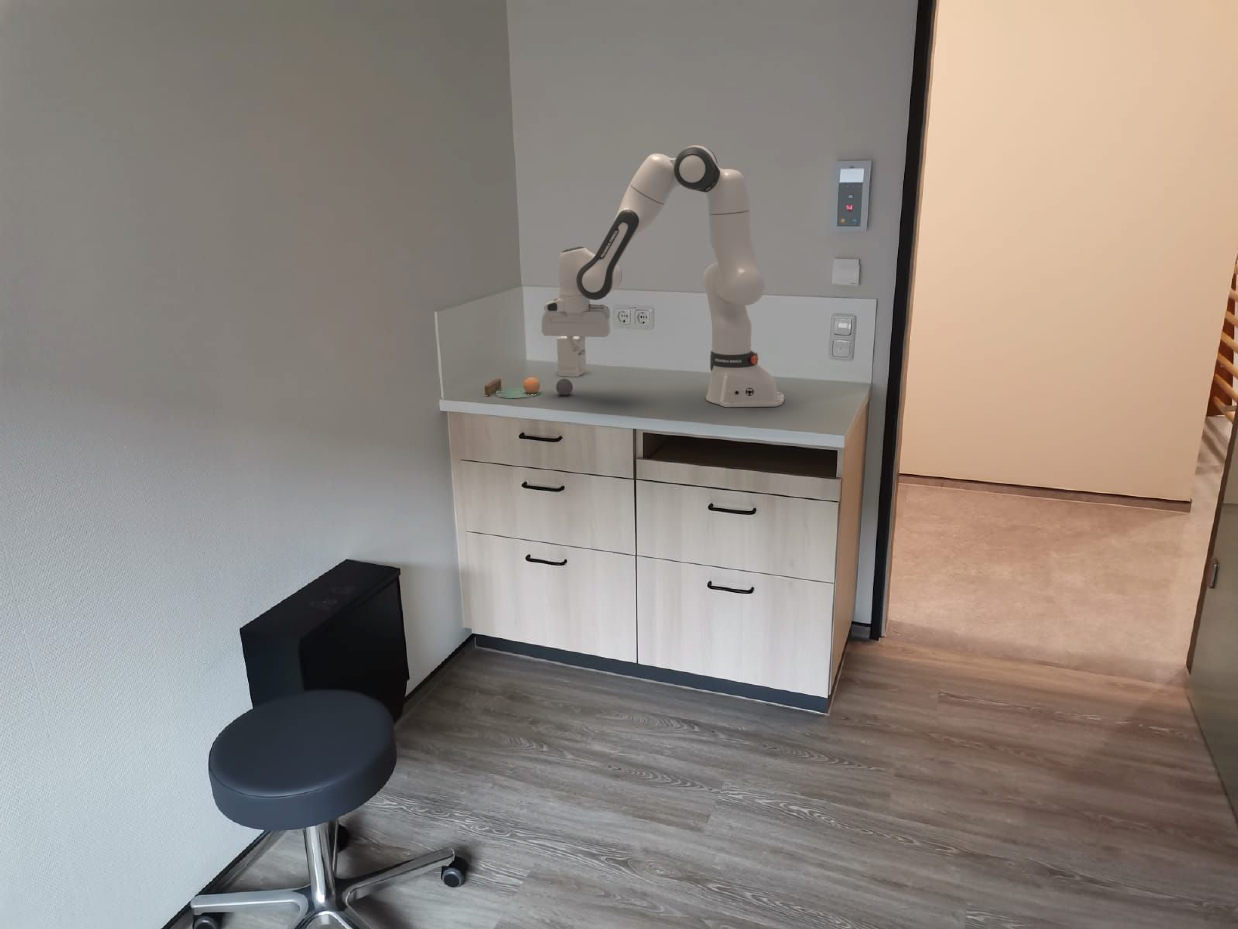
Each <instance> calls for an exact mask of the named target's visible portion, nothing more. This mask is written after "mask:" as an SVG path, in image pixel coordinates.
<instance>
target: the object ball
mask: <svg viewBox="0 0 1238 929" xmlns="http://www.w3.org/2000/svg"><path fill="white" fill-rule="evenodd" d="M522 387H524V390H525V391H526V392H527V393H529V394H534V393H536V392H538V390H541V389H540V388H541V384H540V381H539V379H537V378H536V377H533V376H532V377H531V376H530V377H528V378H527V379H525V380H524V382H523V386H522Z"/></svg>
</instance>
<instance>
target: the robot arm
mask: <svg viewBox="0 0 1238 929" xmlns="http://www.w3.org/2000/svg"><path fill="white" fill-rule="evenodd" d="M678 186H682V187H683V188H685V189H688V190H692V191H697V192H700V193H701V192H702V193H705V195H706V197H707V205H708V222H709V238H710V239H709V241H710V245H711V247H712V248H713V251H714V253H715V257H716V262H714V263H712V264H710V265H709V266H708V267H706V269H705V270H704V273H703V275H702V285H703V287H704V290H705V292H706V295H707V303H708V307H709V312H710V318H711V332H712V333H711V334H712V335H711V338H712V339H711V345H712V346H711V349H712V350H711V351H710V355H709V368H710V369H709V370H710V378H709V379H710V380H709V386H708V390H707V394H706V397H705V399H706V401H707V402H710V403H713V404H716V405H719V406H722V407H725V408H752V407H753V408H755V407H756V408H757V407H759V408H760V407H761V408H762V407H765V408H766V407H771V408H772V407H779V406H781V405H783V403H784V402H785V395H784V394H783V392H780V391H778V388H777V382H776V379H775V377H774V376H773V375H772V374H770V372H768V371H766V369H764V368H763V367H761V365H759V364H758V363H759V355H758V352H755V351H753V350H752V322H751V320H750V318H749V314H748V310H747V306H751V305H754V304H756V303H757V302H758V301H760V299H762V296H763V295H764V292H765V280H764V278H763V275H762V274H761V272H760V271H759V266H758V264H757V258H756V256H755V251H754V247H753V242H752V233H751V220H750V219H751V216H750V202H749V194H748V193H749V192H748V188H747V182H746V178H745V176H744V174H742V172H740V171H739V170H736V169H732V168H727V169H726V168H722V167H720V166H719V165H718V160H717V157H716V155H715V154H714V153H713V151H712V150H711V149H709V148H708V147H706V146H702V145H697V144H695V145H690V146H688V147H686V148H684V149H683V150H681V151H680V152H679V153H678V154H677V155H676V156H675V157H673V158H672V157H669V156H668V155H666V154H663V153H651V154H650V155H648V156H647V157H646V158H645V160H644V161H643V162H642V163H641V165H640V167H639V168H638V169H637V171H636V172H635V173H634V176H633V177H632V180H631V181H630V183H629V185H628V187H627V188H626V191H625V193H624V195H623V197H622V200H621V203H620V205H619V207H618V211H617V213H616V215H615V218H614V220H613V222H612V225H611V227H610V229H609V230H608V232H607V234H606V236H605V238H604V240H603V241H602V243H601V244H600V246H599V248H598V250H597V251H596V254H595V253H593V252H591V251H590V250H589V249H587V248H586V247H584V246H576V247H571V248H566V249H564V250H563V251H562V252H560V253H559V257H558V272H557V273H558V282H559V287H560V288H559V291H558V295H559V297H558V298H555V299H553V300H550V301H548V302H546V303H545V304H544V305H543V310H544V311H545V312H543V314H542V317H541V333H542V334H543V336H547V337H548V336H549V337H561V336H567V341H568V342H569V344H570V345H571V351H582V344H583V342H584V341H585V342H586V337H589V338H590V337H591V338H592V337H593V338H607V337H608V336H609V335H610V333H611V325H610V317H611V310H610V309H609V307H608V306H606V305H605V304H595V303H594V304H593V303H592V304H591V300H593V301H599V300H602V299H604V298H605V297H606V296H607V295H608V294H610V293H612V291H614V290H616V289H617V288H618V286H619V285H621V284H620V283H621V282H622V278H623V273H622V269H621V267H620V265H619V264H618V263H619V262H620V260H621V258H622V256H623V254H624V252H625V251H626V249H627V247H628V246H629V244H630V243H631V242H632V240H633V239H634V238H635V237H636V236H637V235H639V233H640V232H642V231H644V229H646V228H648V227H649V226H650V225H651V224H652V223H653V222H654V221H655V219H657V217H658V216H659V214H660V213H661V211H662V210H663V208H664V206H665V204H666V202H667V201H668V198H669V197H670V195H671V193H672V192H673V191H674V189H675V188H676V187H678ZM573 336H579V340H581V341H580V343H579V345H576V344H574V342H573V340H572V339H573Z"/></svg>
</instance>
